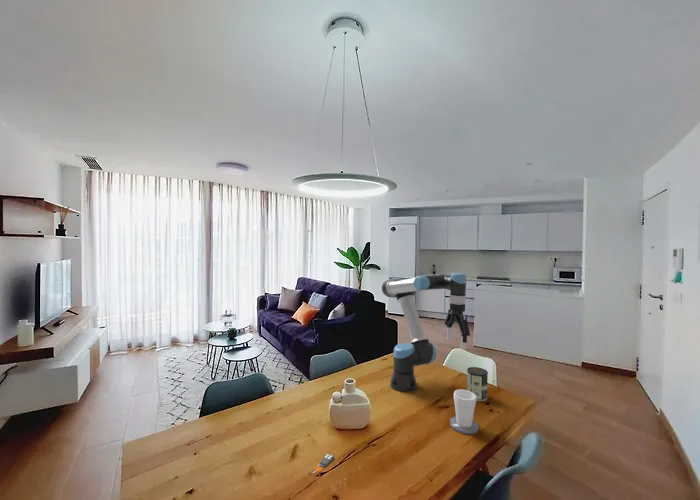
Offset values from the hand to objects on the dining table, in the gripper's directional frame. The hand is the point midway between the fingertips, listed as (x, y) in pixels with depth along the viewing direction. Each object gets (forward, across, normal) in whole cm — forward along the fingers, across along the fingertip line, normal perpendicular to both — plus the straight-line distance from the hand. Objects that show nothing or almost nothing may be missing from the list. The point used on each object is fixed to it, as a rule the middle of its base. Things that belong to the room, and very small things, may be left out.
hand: (456, 343), depth 158 cm
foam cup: (+29, -21, +7) cm, 36 cm away
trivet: (+30, -21, +7) cm, 37 cm away
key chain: (+31, -35, +73) cm, 86 cm away
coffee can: (+31, +3, -15) cm, 34 cm away
